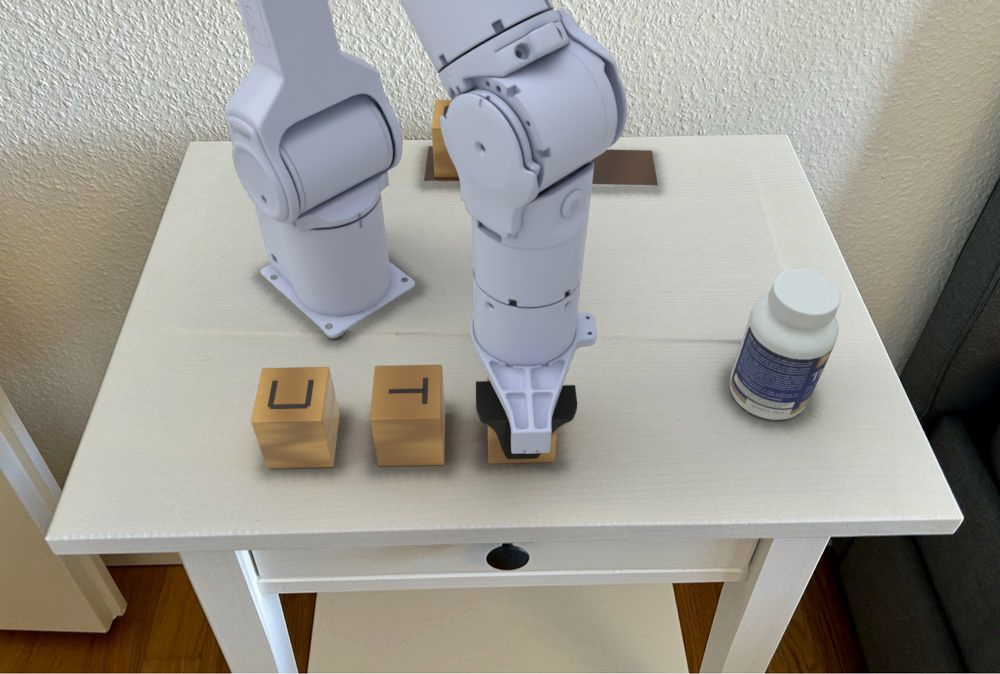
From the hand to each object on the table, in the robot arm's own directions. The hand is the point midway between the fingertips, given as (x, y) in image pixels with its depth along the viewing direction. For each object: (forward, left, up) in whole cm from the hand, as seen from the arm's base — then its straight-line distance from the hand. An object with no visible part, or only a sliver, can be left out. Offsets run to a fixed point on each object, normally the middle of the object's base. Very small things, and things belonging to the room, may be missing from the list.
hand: (520, 423), depth 54 cm
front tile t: (-5, -5, -1) cm, 7 cm away
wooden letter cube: (0, 0, -1) cm, 1 cm away
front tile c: (-9, -10, -1) cm, 14 cm away
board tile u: (-24, +16, -1) cm, 29 cm away
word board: (-19, +21, -1) cm, 29 cm away
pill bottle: (+9, +15, -2) cm, 18 cm away
